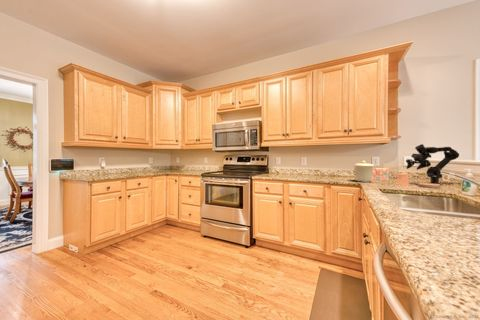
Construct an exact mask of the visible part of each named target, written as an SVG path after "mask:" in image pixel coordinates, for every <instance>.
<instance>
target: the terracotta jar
mask: <svg viewBox="0 0 480 320" xmlns="http://www.w3.org/2000/svg"><path fill="white" fill-rule="evenodd" d="M396 177H397V178H396V181H397V182H395V185H399V186H411V183H409V173H402V172H401V173H397V175H396Z"/></svg>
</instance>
